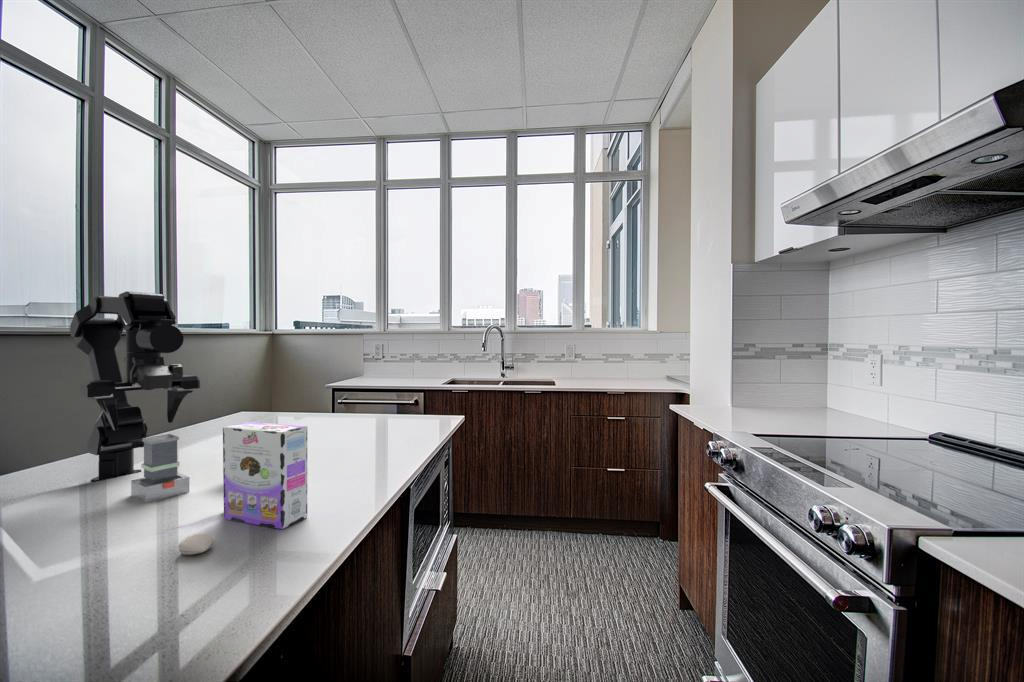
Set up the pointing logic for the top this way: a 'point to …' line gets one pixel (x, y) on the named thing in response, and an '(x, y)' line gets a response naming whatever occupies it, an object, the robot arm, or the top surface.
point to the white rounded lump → (196, 544)
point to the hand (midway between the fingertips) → (144, 426)
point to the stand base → (159, 487)
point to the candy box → (265, 473)
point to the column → (160, 456)
